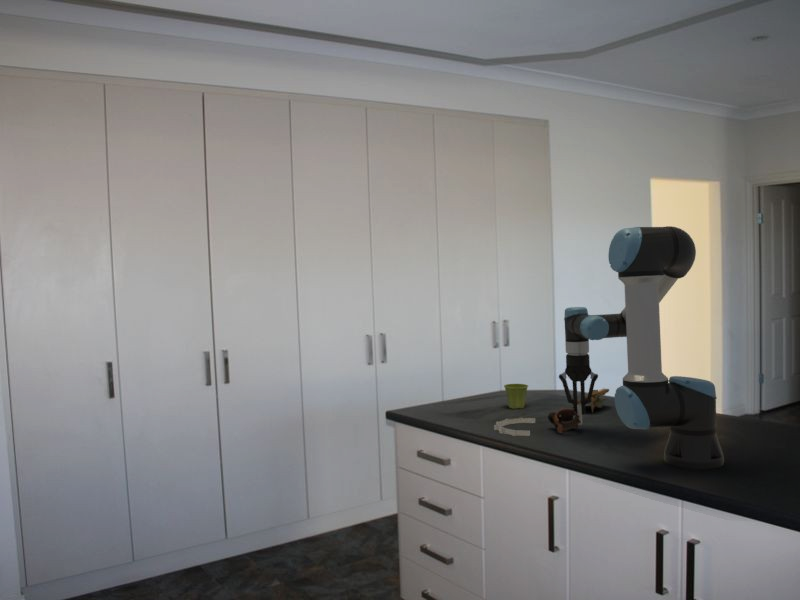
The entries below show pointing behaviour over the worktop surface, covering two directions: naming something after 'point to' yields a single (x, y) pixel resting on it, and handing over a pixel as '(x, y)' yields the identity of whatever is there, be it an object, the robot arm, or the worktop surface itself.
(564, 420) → the pottery mug
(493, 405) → the worktop surface
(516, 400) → the plant pot
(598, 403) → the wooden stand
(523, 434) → the grey u-shaped piece
